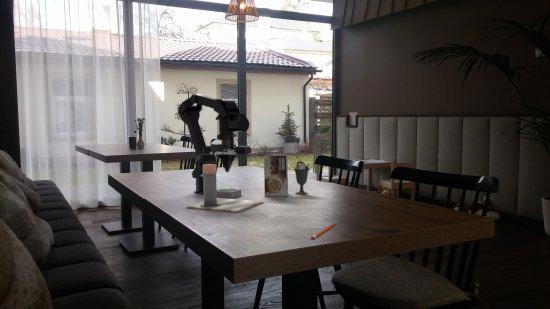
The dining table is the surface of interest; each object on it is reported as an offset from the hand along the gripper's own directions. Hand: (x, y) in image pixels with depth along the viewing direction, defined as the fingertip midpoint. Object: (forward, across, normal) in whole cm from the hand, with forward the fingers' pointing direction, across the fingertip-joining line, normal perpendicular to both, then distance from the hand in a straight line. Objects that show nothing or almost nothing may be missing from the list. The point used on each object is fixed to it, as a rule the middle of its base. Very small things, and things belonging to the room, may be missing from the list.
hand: (227, 171), depth 175 cm
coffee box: (+10, +16, +11) cm, 22 cm away
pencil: (+11, +52, -36) cm, 64 cm away
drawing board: (+10, +9, -16) cm, 21 cm away
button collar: (+10, 0, 0) cm, 10 cm away
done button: (+9, 0, 0) cm, 9 cm away
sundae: (+10, +24, +18) cm, 31 cm away
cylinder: (+9, +6, -21) cm, 23 cm away
